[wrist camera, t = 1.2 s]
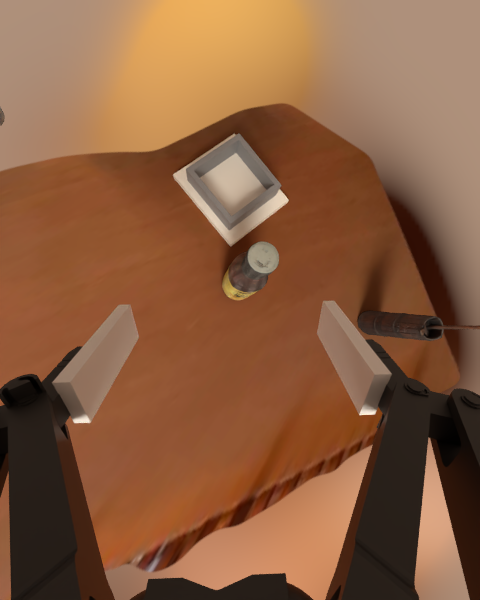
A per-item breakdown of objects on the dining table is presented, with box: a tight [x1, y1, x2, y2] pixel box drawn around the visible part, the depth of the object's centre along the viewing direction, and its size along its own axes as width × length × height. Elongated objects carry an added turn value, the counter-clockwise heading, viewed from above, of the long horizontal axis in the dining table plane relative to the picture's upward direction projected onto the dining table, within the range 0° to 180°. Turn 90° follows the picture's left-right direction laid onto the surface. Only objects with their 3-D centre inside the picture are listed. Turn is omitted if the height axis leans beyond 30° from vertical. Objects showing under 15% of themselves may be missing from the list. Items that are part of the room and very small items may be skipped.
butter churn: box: [358, 311, 480, 341], centre depth 37 cm, size 9×10×28 cm
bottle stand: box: [173, 133, 289, 247], centre depth 47 cm, size 18×16×5 cm
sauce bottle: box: [222, 242, 279, 300], centre depth 38 cm, size 7×6×20 cm
